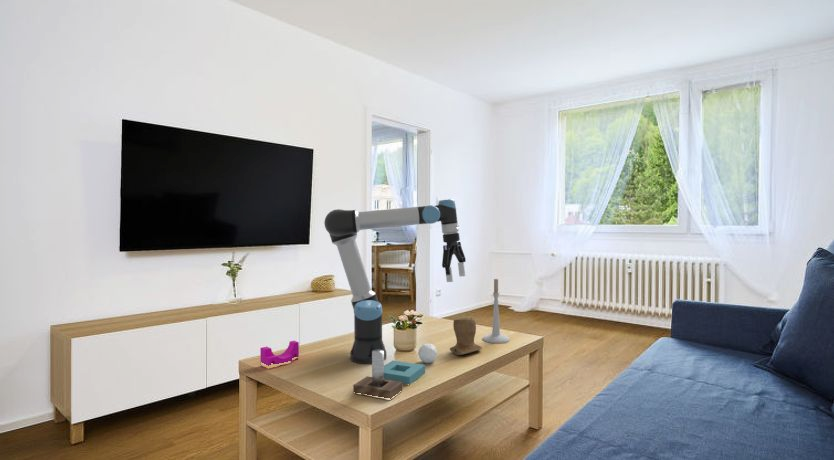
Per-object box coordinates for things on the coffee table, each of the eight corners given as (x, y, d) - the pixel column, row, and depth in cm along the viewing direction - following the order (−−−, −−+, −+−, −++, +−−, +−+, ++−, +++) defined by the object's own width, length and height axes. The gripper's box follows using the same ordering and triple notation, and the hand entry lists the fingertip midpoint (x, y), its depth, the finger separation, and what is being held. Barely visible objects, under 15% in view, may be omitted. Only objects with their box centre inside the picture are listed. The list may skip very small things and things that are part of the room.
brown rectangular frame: (353, 393, 150) (353, 384, 150) (367, 384, 159) (367, 376, 159) (390, 400, 145) (390, 391, 145) (402, 390, 153) (402, 382, 153)
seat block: (374, 379, 164) (374, 371, 164) (392, 367, 176) (392, 360, 176) (409, 385, 158) (409, 376, 158) (425, 372, 171) (425, 365, 171)
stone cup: (465, 345, 207) (465, 313, 207) (485, 351, 198) (485, 317, 198) (442, 352, 197) (442, 318, 197) (462, 358, 188) (462, 323, 188)
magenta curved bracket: (268, 370, 175) (267, 351, 175) (260, 366, 180) (260, 347, 179) (302, 361, 186) (301, 343, 186) (294, 358, 190) (293, 340, 190)
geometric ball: (430, 367, 185) (440, 350, 187) (430, 366, 178) (440, 349, 180) (415, 357, 187) (425, 340, 189) (413, 355, 179) (424, 338, 181)
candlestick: (478, 341, 215) (478, 278, 215) (488, 335, 226) (488, 275, 225) (503, 344, 208) (503, 280, 208) (513, 338, 219) (513, 277, 219)
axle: (370, 393, 151) (369, 352, 150) (376, 389, 154) (375, 348, 154) (380, 395, 149) (380, 353, 149) (386, 391, 153) (386, 350, 152)
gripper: (445, 235, 192) (452, 284, 193) (468, 229, 214) (474, 273, 215) (430, 236, 196) (436, 284, 197) (454, 231, 218) (460, 274, 218)
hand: (456, 279), depth 206 cm, fingers open, 13 cm apart
